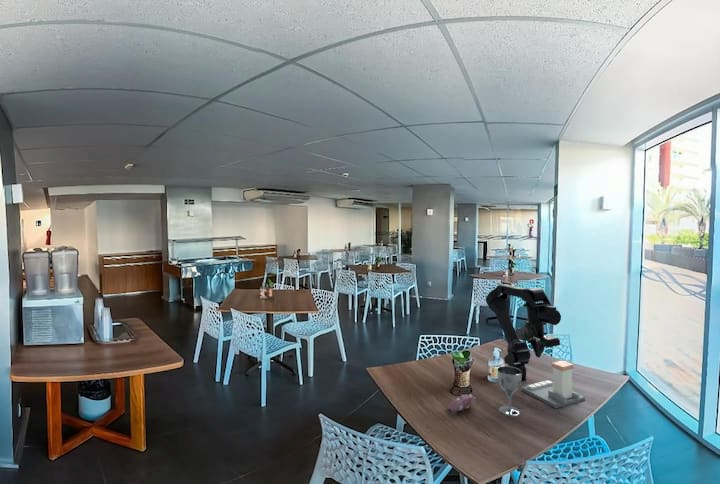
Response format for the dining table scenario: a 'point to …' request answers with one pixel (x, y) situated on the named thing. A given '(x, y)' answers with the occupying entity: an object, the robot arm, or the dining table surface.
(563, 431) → the dining table surface
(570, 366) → the key
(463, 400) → the pink toy figurine
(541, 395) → the keyboard deck
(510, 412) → the wine glass
